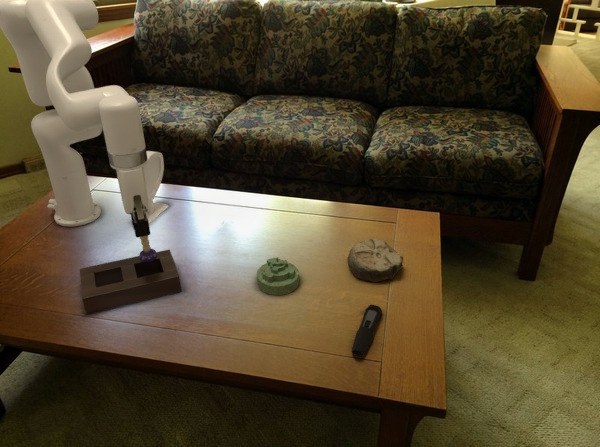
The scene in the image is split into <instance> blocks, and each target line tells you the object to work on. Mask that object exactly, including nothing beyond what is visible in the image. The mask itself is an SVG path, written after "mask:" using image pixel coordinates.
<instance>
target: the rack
mask: <svg viewBox="0 0 600 447" xmlns="http://www.w3.org/2000/svg"><path fill="white" fill-rule="evenodd" d="M156 252H157V254H158V257H157V258H156V259H155V260H154V261H151V262H142V261H140V260H139V255H136V256H133V257H128V258H122V259H118V260H113V261H108V262H103V263H100V264H96V265H90V266H86V267H85V266H84V267H80V268H79V277H80V278H79V279H80V288H81V289H80V290H81V299H82V302H83V307H84V309H85V314H86V315H90V314H95V313H99V312H103V311H107V310H111V309H112V310H113V309H116V308H120V307H123V306H128V305H131V304H137V303H140V302H145V301H148V300H152V299H156V298H160V297H165V296H169V295H173V294H177V293H181V292H182V285H181V284H182V283H181V277H180V274H179V271H178V269H177V266H176V263H175V260H174V257H173V255H172V252H171V249H164V250H160V251H156Z"/></svg>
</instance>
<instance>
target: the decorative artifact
mask: <svg viewBox="0 0 600 447" xmlns="http://www.w3.org/2000/svg"><path fill="white" fill-rule="evenodd" d="M256 284H257V288H258V289H260V291H262V292H263V293H265V294H268V295H272V296H283V295H287V294H290V293H292V292H294V291H295V290H296V289H297V288H298V286H299V284H300V270H299V268H297V267H296V265H294V264H293V263H291V262H289V261H288V260H286V259H281V258H279V257H272V258H268V259H266V263H264V264H262V265H261V266H260V267H258V269H257V271H256Z"/></svg>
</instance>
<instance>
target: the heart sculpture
mask: <svg viewBox="0 0 600 447" xmlns="http://www.w3.org/2000/svg"><path fill="white" fill-rule="evenodd" d="M146 153H147V159H148V162H147V164H146V165H144V166H143V170H144V176H145V182H146V188H147V196H148V205H149V209H148V211H147V212H146V216H147V218H148V222H149V224H150V223H151V222H153V221H154V220H156V218H157V217H158V216H159V215H160V214H162V213H163V212H164V211H165V210H167V208H168V207H169V205H168V204H166V203H163V202H157V203H156V202H155V203H154V200H155V197H156V195H157V193H158V190H159V188H160V186H161V183H162V181H163V177H164V171H165V163H164V161H165V160H164V155H163V154H162V153H161V152H159V151H153V150H152V151H151V150H146Z"/></svg>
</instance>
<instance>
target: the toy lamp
mask: <svg viewBox="0 0 600 447" xmlns="http://www.w3.org/2000/svg"><path fill="white" fill-rule="evenodd" d="M133 198H134V197H133ZM142 207H143V206H142ZM133 209H136V208H133ZM145 211H146V210H145ZM147 211H148V210H147ZM147 211H146V212H147ZM136 214H137V213H135V215H136ZM128 215H130V216H131V215H133V214H132V213H129V214H128ZM139 239H140V243H141V245H142V250H141V251H140V253H139V254H138V256H139V260H140V261H142V262H151V261H154V260H155V259H156V258H157V257H158V254H157V252H158V251H157V250H155V249H154V248H152V247H151V244H150V240H149V235H148V236H143V237H139Z"/></svg>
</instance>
